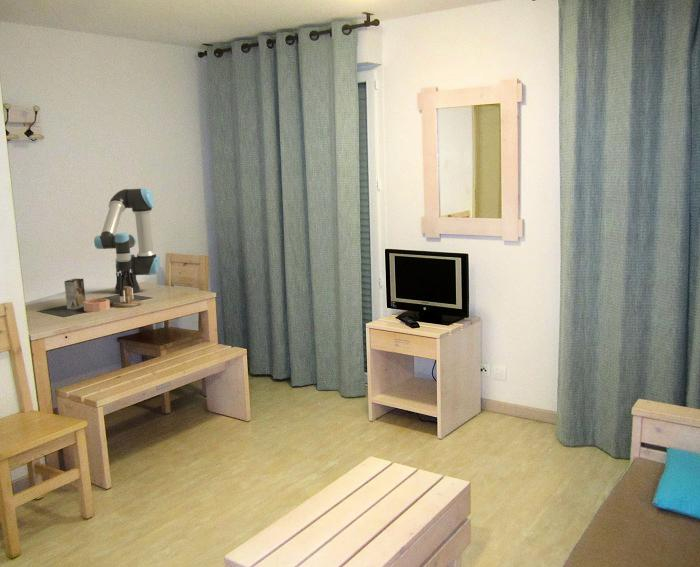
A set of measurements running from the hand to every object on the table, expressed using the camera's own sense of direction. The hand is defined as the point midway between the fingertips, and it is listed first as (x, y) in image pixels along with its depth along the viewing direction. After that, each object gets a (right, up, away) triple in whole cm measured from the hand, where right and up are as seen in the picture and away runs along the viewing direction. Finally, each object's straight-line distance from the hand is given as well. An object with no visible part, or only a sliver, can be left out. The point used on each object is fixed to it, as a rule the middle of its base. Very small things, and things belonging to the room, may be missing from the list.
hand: (127, 300), depth 390 cm
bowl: (-13, -5, -10) cm, 17 cm away
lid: (0, -2, 0) cm, 2 cm away
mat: (0, -3, 0) cm, 3 cm away
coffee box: (-28, -4, -3) cm, 28 cm away
